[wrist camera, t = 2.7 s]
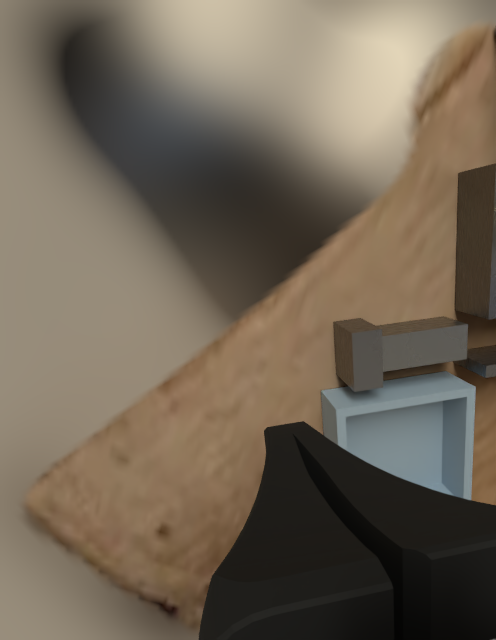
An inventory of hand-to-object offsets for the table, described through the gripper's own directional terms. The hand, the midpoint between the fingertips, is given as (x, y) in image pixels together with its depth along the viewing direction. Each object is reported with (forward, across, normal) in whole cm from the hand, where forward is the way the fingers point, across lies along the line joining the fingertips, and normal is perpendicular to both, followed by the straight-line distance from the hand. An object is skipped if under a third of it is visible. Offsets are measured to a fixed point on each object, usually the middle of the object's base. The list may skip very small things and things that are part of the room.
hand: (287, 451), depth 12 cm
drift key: (+9, -9, 0) cm, 13 cm away
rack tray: (+9, -8, +6) cm, 14 cm away
